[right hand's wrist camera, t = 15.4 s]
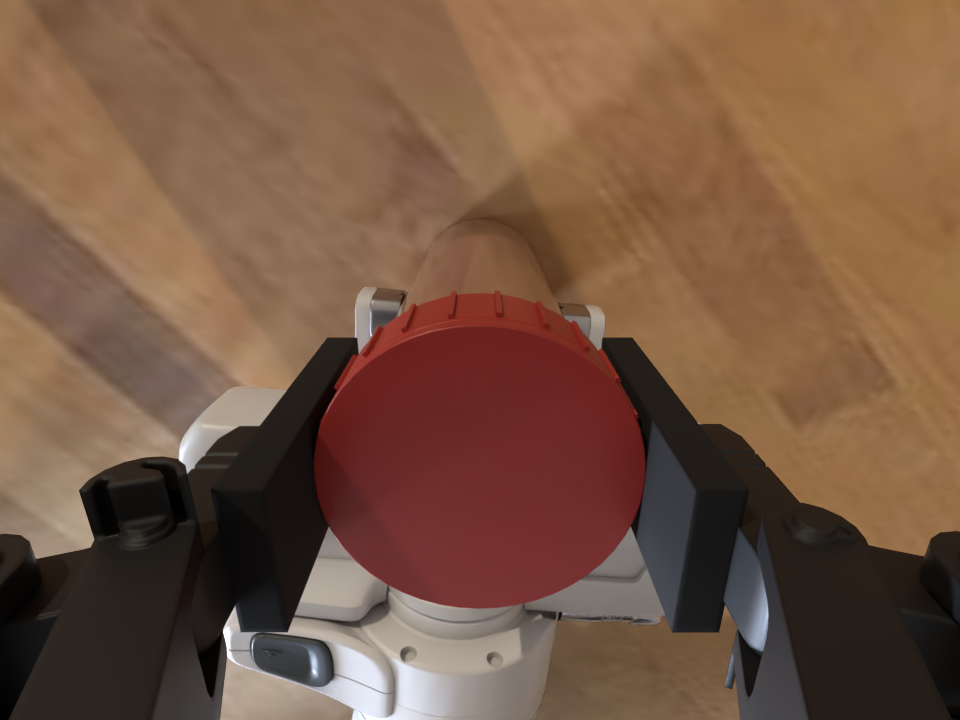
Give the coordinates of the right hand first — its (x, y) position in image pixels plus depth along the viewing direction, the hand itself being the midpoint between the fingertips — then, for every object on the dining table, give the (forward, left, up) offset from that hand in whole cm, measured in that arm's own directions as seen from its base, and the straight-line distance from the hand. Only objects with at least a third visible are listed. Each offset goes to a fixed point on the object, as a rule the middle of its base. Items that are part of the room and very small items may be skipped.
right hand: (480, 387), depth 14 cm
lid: (0, 0, +4) cm, 4 cm away
